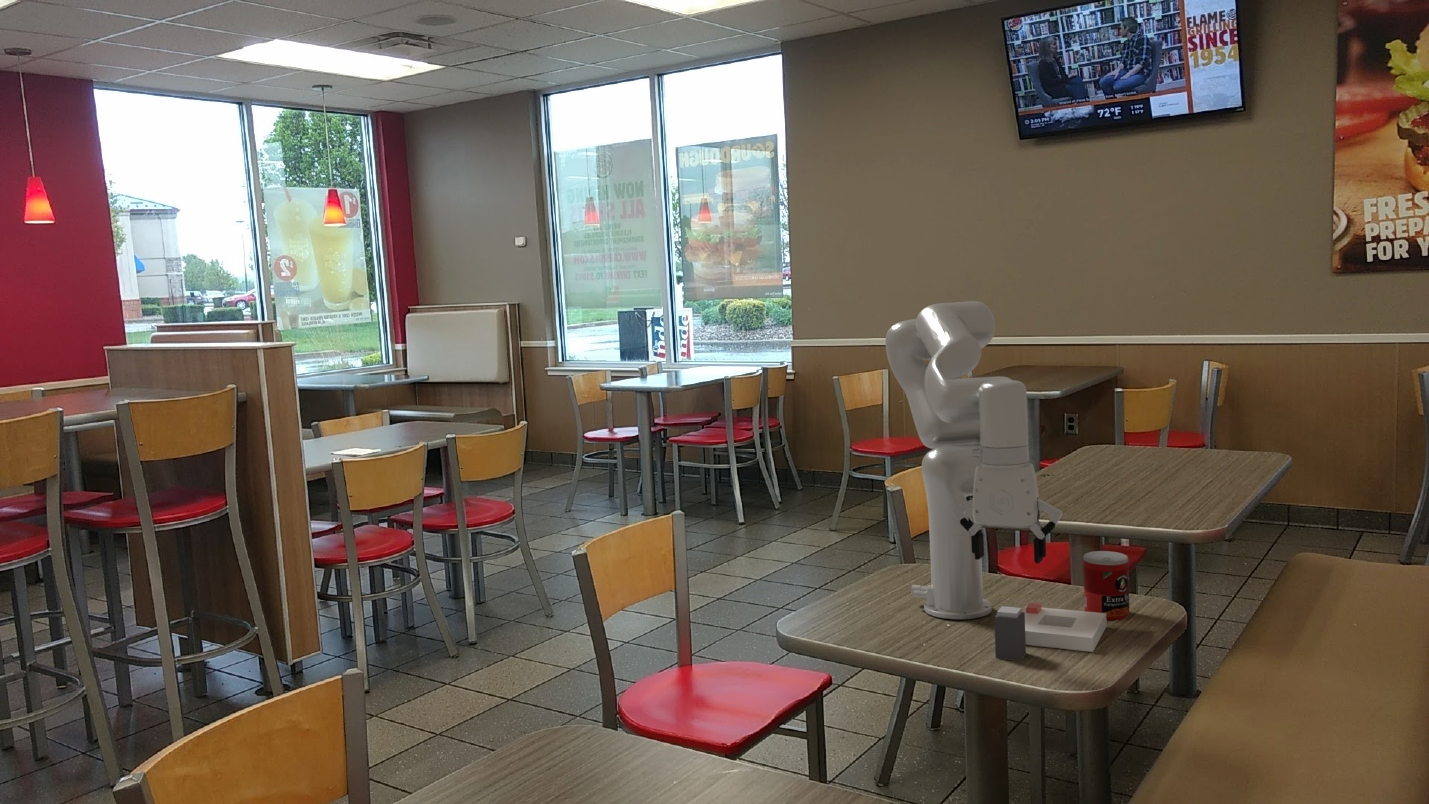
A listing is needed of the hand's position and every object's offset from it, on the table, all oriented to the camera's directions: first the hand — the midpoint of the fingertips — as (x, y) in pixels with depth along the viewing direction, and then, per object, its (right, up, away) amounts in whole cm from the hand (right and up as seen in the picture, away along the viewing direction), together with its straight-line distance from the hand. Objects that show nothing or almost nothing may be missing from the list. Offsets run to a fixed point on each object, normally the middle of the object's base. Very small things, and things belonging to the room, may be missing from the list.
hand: (1008, 559), depth 170 cm
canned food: (+24, -13, +20) cm, 34 cm away
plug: (+1, -16, +2) cm, 16 cm away
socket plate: (+12, -15, +11) cm, 22 cm away
